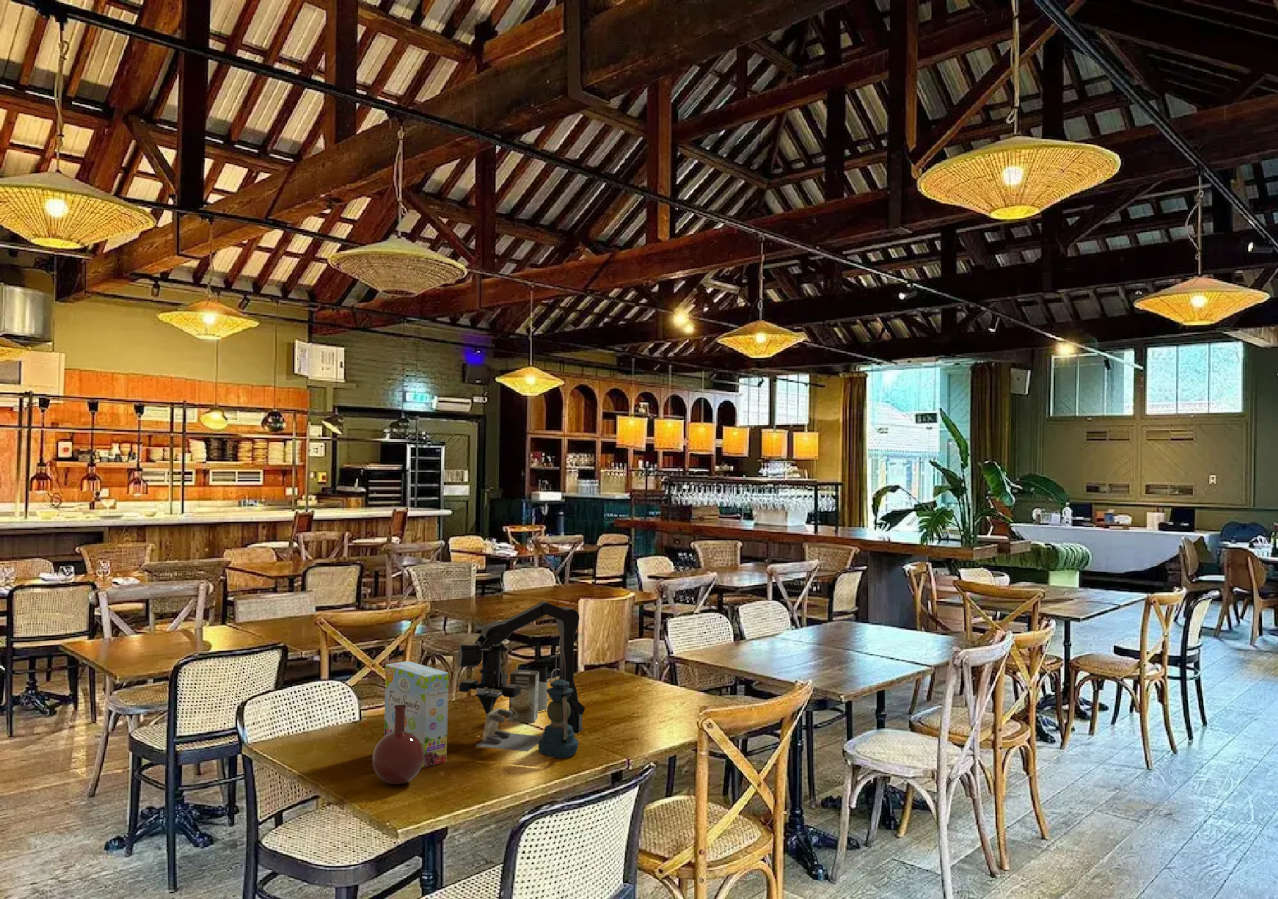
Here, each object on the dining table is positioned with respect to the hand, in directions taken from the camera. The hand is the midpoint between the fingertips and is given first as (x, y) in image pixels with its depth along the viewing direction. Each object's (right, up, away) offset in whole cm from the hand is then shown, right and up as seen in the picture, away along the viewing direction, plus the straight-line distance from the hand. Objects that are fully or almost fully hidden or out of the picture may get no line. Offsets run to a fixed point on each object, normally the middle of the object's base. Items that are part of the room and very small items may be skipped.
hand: (488, 716), depth 271 cm
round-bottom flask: (-17, -6, -40) cm, 44 cm away
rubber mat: (+8, -8, -3) cm, 11 cm away
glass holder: (+13, -10, +40) cm, 43 cm away
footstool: (+3, -7, -1) cm, 7 cm away
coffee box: (+8, -9, +24) cm, 27 cm away
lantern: (+23, -8, -12) cm, 27 cm away
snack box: (-18, -7, -18) cm, 27 cm away
